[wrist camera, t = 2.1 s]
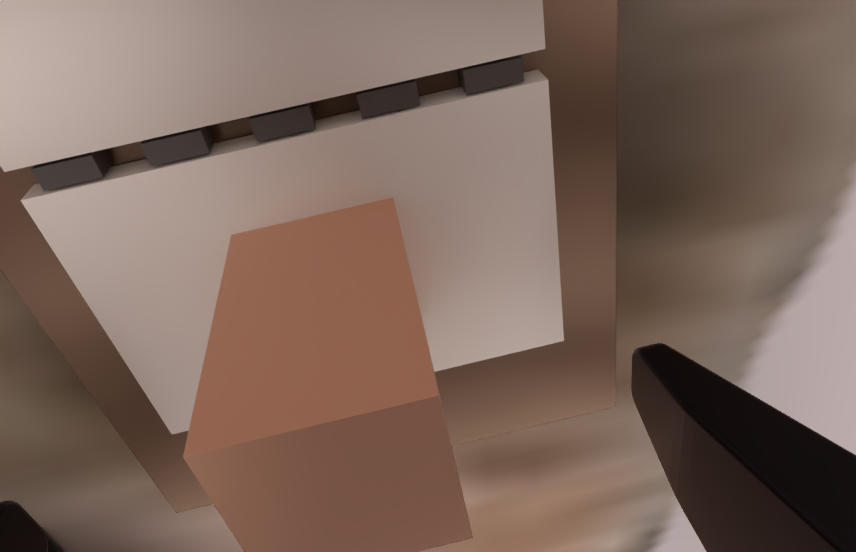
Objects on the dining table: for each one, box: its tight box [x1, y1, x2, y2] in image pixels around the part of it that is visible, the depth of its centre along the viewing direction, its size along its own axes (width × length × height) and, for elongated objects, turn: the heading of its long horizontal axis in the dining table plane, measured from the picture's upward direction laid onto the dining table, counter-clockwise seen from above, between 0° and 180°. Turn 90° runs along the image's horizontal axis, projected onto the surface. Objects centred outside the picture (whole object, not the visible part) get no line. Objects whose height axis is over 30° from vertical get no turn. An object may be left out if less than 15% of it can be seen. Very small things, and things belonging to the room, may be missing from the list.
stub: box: [21, 69, 564, 552], centre depth 10 cm, size 6×9×6 cm, turn 100°
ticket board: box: [0, 0, 618, 513], centre depth 11 cm, size 18×12×2 cm, turn 10°
